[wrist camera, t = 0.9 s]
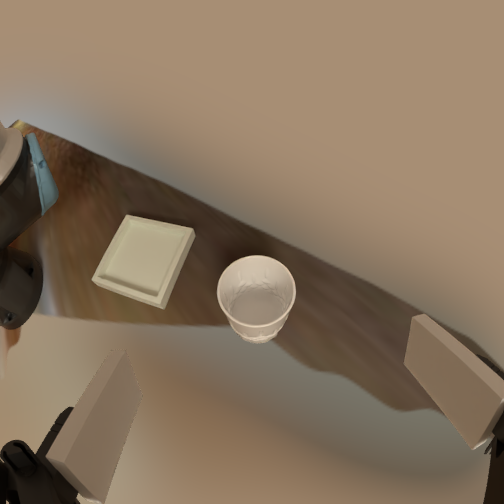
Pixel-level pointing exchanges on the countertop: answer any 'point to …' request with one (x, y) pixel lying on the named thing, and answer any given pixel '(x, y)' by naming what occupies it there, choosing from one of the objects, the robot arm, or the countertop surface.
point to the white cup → (256, 297)
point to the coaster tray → (144, 260)
